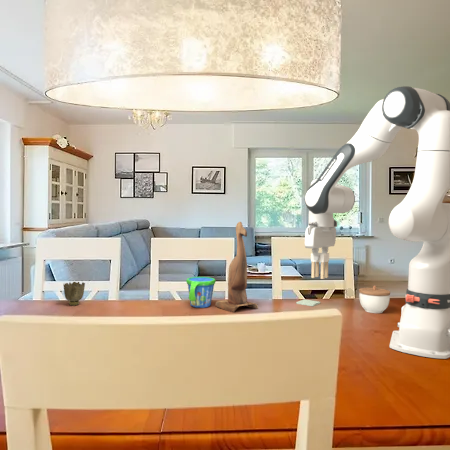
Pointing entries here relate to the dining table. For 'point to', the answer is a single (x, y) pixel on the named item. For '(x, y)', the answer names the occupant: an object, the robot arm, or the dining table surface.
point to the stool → (323, 259)
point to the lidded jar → (374, 299)
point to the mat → (308, 302)
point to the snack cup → (200, 291)
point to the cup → (74, 292)
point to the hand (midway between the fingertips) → (320, 259)
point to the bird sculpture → (237, 276)
